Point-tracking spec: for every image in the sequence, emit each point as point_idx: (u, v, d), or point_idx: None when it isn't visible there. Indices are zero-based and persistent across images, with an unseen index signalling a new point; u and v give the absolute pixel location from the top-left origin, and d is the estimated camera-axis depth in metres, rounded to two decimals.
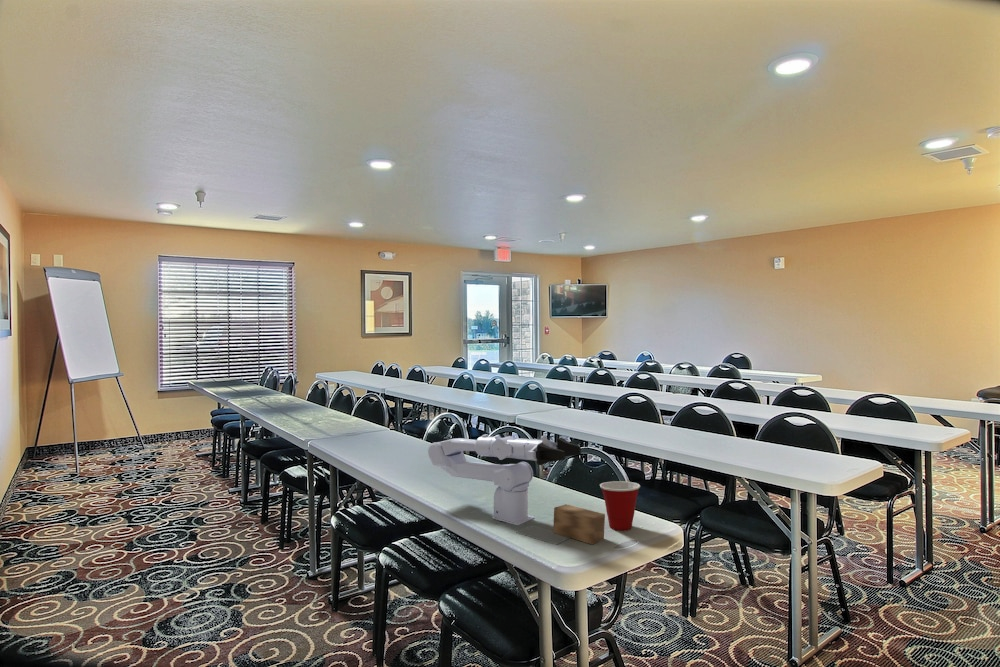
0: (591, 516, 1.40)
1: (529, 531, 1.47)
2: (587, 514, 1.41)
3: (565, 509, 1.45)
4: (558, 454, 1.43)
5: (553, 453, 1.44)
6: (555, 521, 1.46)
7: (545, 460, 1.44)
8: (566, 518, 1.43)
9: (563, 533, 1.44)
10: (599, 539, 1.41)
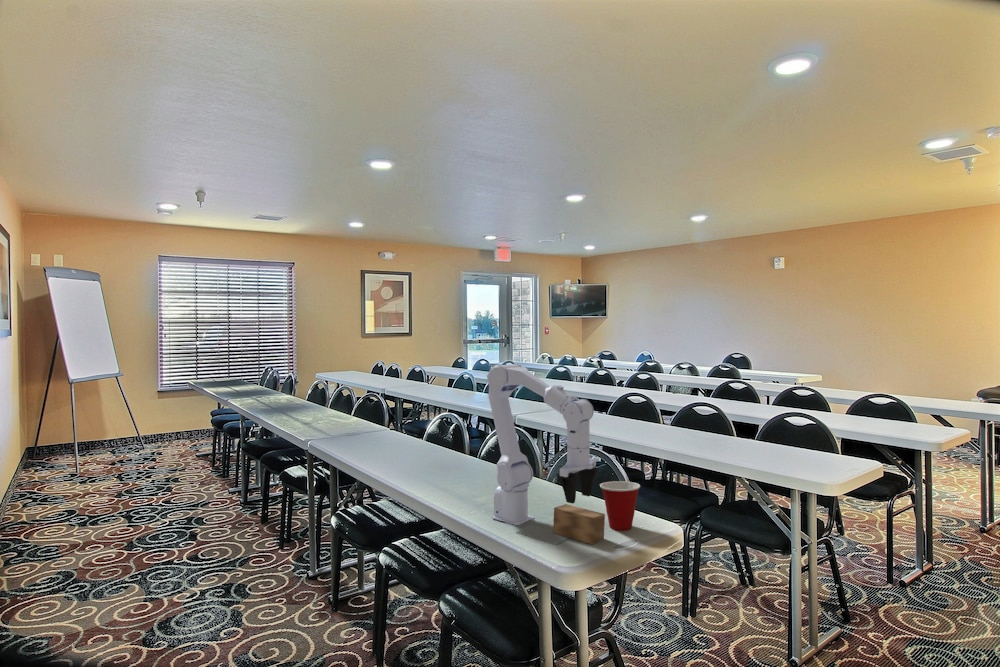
0: (591, 516, 1.40)
1: (529, 531, 1.47)
2: (587, 514, 1.41)
3: (565, 509, 1.45)
4: (570, 497, 1.41)
5: (570, 491, 1.40)
6: (555, 521, 1.46)
7: (562, 483, 1.41)
8: (566, 518, 1.43)
9: (563, 533, 1.44)
10: (599, 539, 1.41)
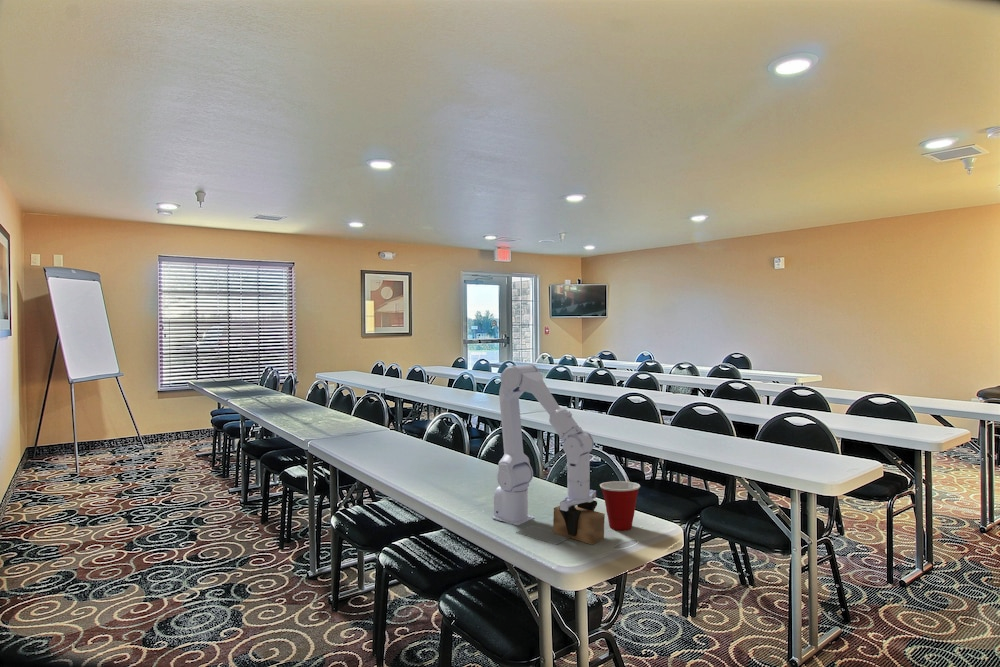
0: (591, 516, 1.39)
1: (529, 531, 1.47)
2: (587, 514, 1.41)
3: None
4: (571, 530, 1.41)
5: (572, 524, 1.41)
6: (555, 521, 1.45)
7: (564, 516, 1.41)
8: None
9: (563, 533, 1.44)
10: (599, 539, 1.40)
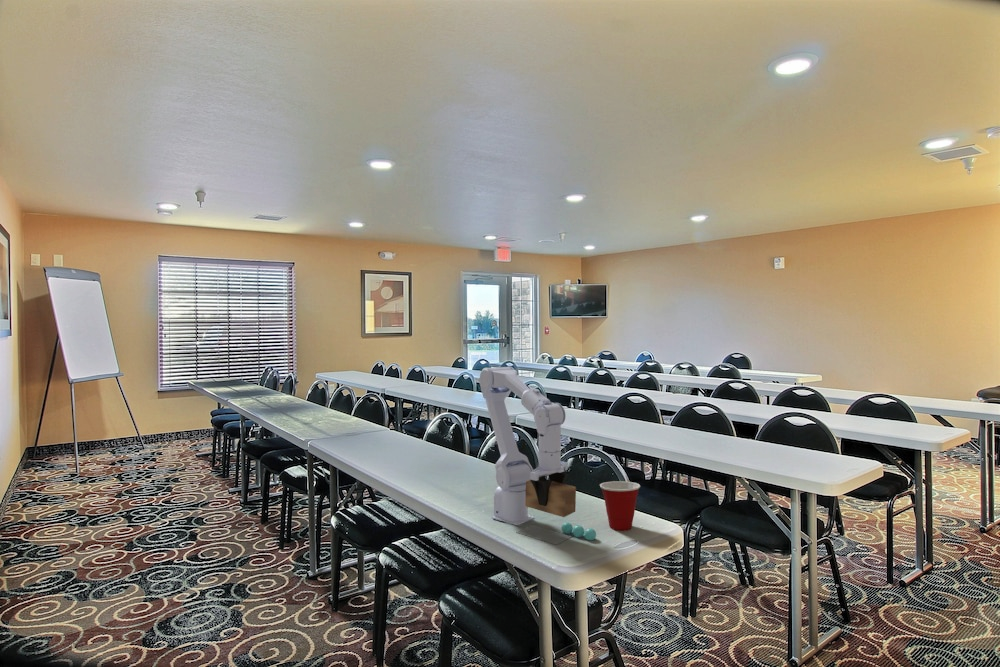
0: (562, 490, 1.40)
1: (529, 531, 1.47)
2: (558, 487, 1.42)
3: None
4: (542, 500, 1.42)
5: (542, 494, 1.42)
6: (527, 495, 1.46)
7: (535, 486, 1.42)
8: None
9: (535, 507, 1.44)
10: (570, 511, 1.41)
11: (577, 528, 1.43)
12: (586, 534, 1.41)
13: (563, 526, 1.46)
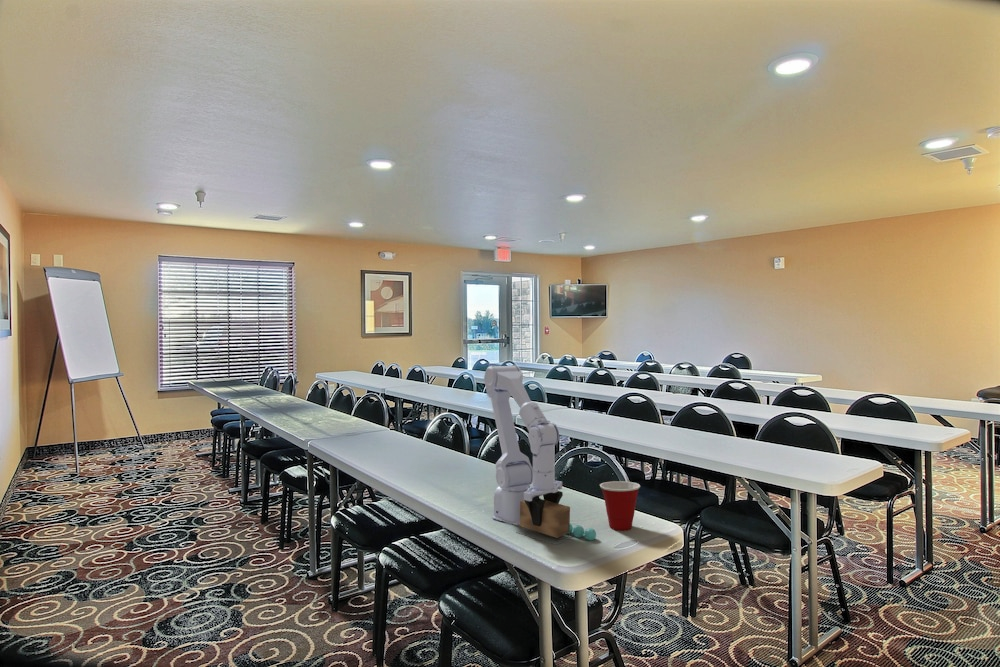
0: (555, 510, 1.40)
1: (529, 531, 1.47)
2: (552, 508, 1.42)
3: None
4: (536, 520, 1.42)
5: (536, 514, 1.42)
6: (521, 515, 1.46)
7: (529, 506, 1.42)
8: None
9: (529, 527, 1.44)
10: (564, 532, 1.41)
11: (577, 528, 1.43)
12: (586, 534, 1.41)
13: None
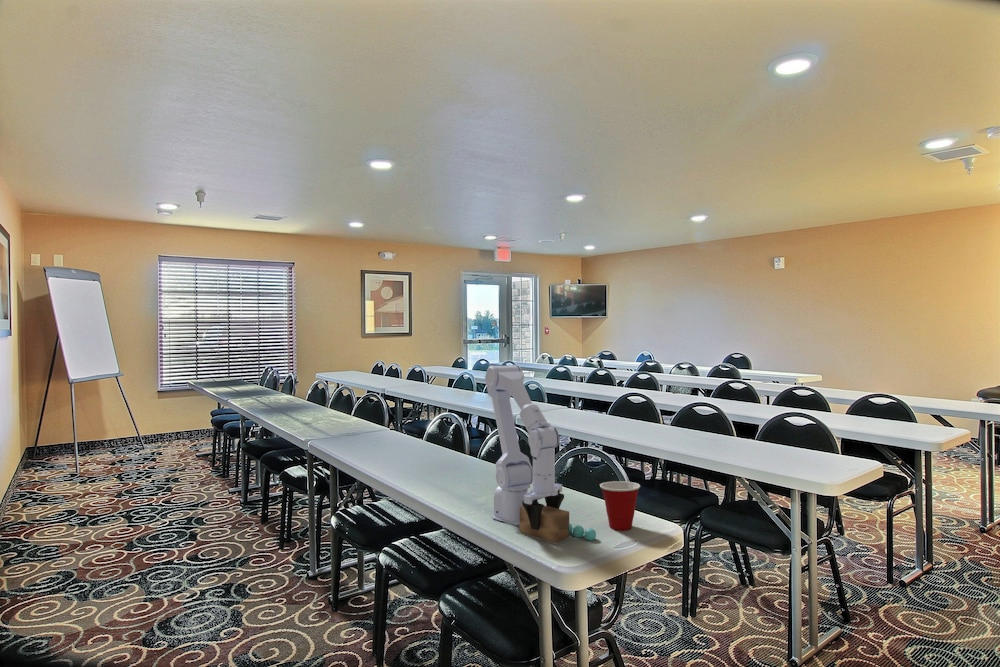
0: (555, 515, 1.40)
1: None
2: (551, 513, 1.42)
3: None
4: (534, 524, 1.42)
5: (535, 518, 1.41)
6: (521, 520, 1.46)
7: (527, 510, 1.42)
8: None
9: (529, 532, 1.45)
10: (564, 537, 1.41)
11: (577, 528, 1.43)
12: (586, 534, 1.41)
13: None
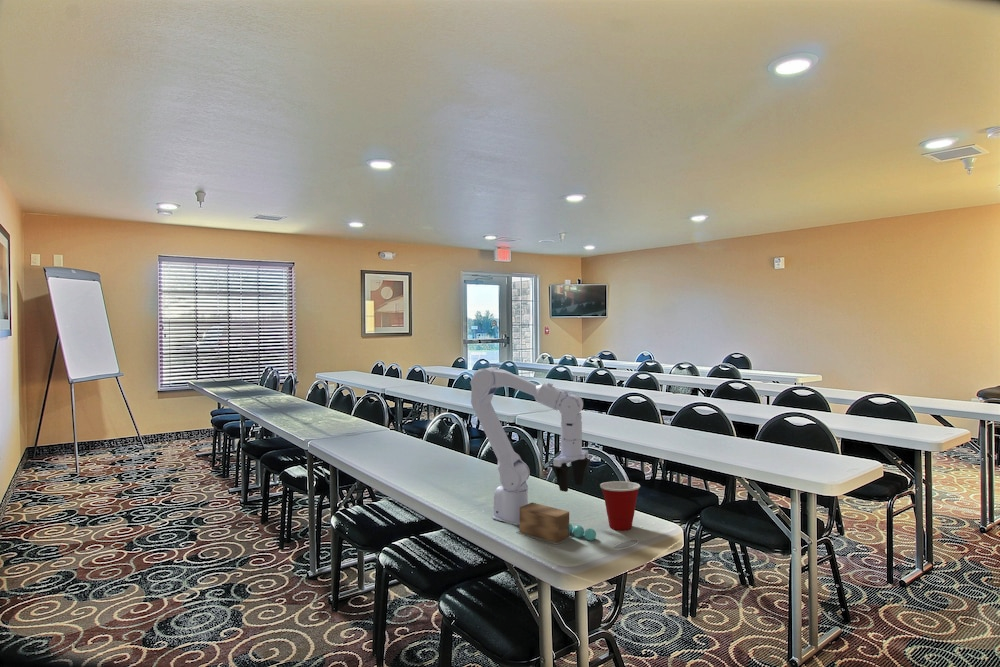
0: (555, 515, 1.40)
1: None
2: (551, 513, 1.42)
3: (530, 508, 1.45)
4: (563, 486, 1.49)
5: (563, 480, 1.49)
6: (521, 520, 1.46)
7: (556, 472, 1.49)
8: (531, 517, 1.44)
9: (529, 532, 1.45)
10: (564, 537, 1.41)
11: (577, 528, 1.43)
12: (586, 534, 1.41)
13: None
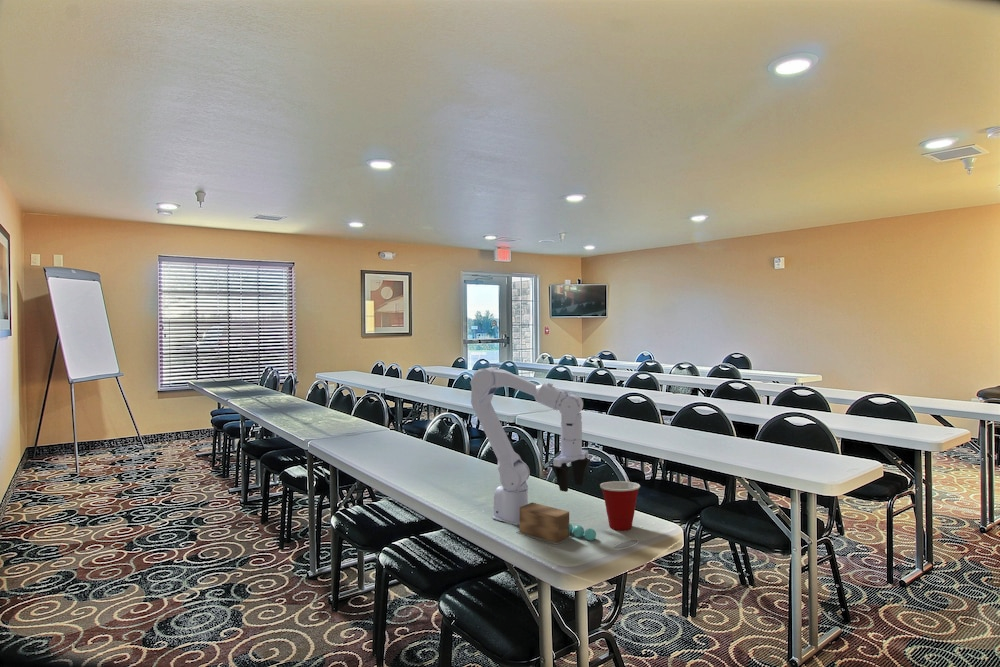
0: (555, 515, 1.40)
1: None
2: (551, 513, 1.42)
3: (530, 508, 1.45)
4: (563, 486, 1.49)
5: (563, 480, 1.49)
6: (521, 520, 1.46)
7: (556, 472, 1.49)
8: (531, 517, 1.44)
9: (529, 532, 1.45)
10: (564, 537, 1.41)
11: (577, 528, 1.43)
12: (586, 534, 1.41)
13: None
